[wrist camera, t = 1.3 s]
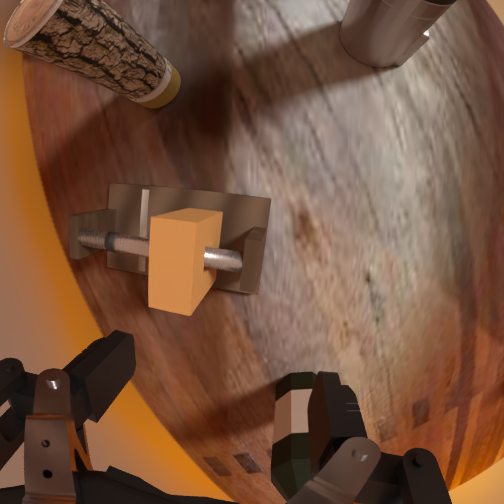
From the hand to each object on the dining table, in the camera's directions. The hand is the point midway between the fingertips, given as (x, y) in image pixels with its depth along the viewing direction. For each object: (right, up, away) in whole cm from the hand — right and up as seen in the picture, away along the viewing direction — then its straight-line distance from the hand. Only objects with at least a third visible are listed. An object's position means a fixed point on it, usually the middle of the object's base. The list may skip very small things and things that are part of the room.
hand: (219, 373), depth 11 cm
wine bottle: (+9, -17, +30) cm, 36 cm away
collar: (-4, +6, +22) cm, 23 cm away
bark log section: (-11, +27, +22) cm, 37 cm away
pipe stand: (-8, +7, +26) cm, 28 cm away
